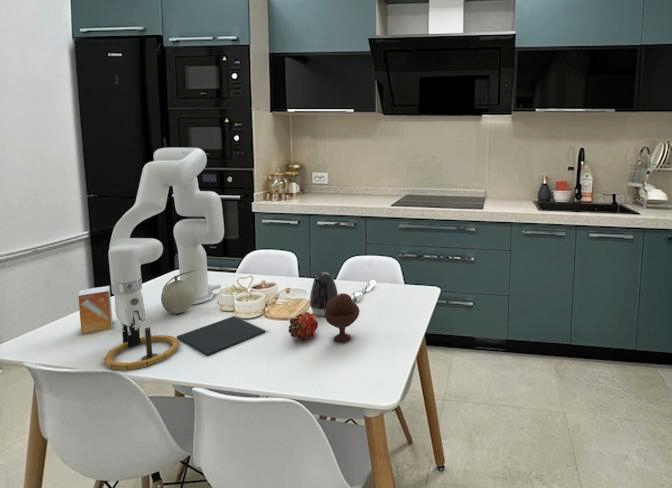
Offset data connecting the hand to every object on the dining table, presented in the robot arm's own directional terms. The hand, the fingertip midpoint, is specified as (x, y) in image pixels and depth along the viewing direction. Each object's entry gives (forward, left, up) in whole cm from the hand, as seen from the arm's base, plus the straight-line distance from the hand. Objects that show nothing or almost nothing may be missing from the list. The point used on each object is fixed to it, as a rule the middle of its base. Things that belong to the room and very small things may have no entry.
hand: (131, 343), depth 131 cm
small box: (+2, -23, -1) cm, 23 cm away
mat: (-20, +15, -1) cm, 25 cm away
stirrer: (-74, +26, -1) cm, 78 cm away
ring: (0, +8, -1) cm, 8 cm away
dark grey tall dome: (-51, +28, -1) cm, 58 cm away
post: (0, +13, -1) cm, 13 cm away
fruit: (-20, -15, -1) cm, 25 cm away
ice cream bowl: (-41, +48, -1) cm, 63 cm away
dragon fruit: (-35, +37, -1) cm, 51 cm away
